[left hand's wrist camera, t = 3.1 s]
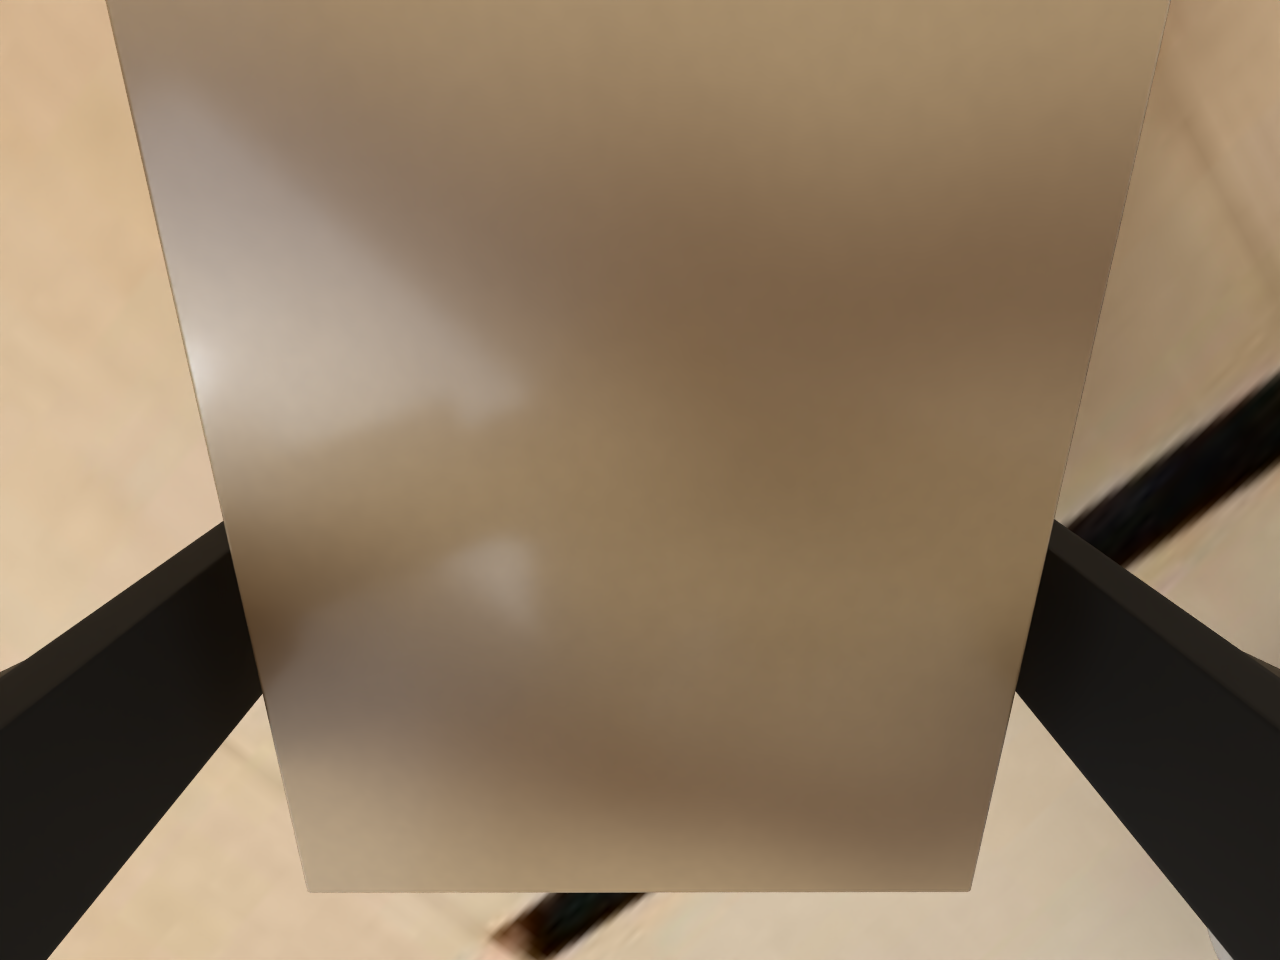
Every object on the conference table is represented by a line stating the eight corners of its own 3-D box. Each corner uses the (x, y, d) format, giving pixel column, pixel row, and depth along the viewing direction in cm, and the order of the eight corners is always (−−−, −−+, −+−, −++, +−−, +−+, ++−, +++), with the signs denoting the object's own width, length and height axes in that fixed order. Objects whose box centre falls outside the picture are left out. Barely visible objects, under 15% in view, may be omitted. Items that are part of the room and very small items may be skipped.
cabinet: (372, -316, 14) (-275, -1651, 4) (903, -315, 14) (1547, -1648, 4) (462, 584, 20) (306, 894, 11) (815, 584, 20) (971, 893, 11)
